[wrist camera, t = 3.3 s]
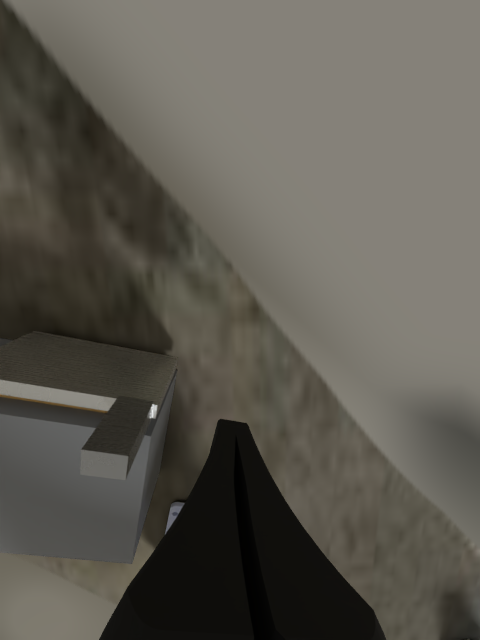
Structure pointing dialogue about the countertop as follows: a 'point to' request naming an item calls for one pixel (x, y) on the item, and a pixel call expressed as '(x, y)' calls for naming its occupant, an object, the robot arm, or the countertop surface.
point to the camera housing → (71, 483)
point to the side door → (92, 390)
